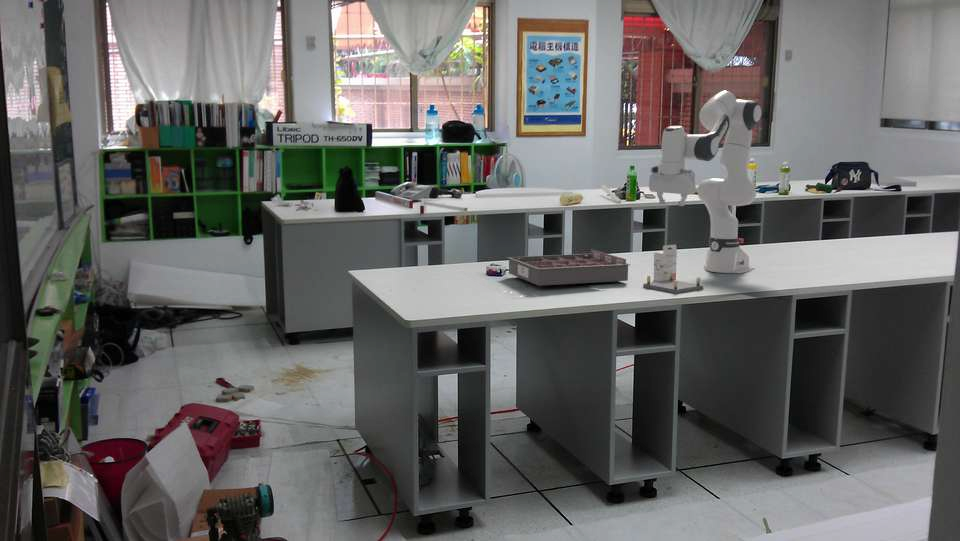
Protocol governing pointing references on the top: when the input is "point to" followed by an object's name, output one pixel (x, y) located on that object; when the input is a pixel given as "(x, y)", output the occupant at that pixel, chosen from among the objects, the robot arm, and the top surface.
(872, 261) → the top surface
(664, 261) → the ink cartridge box
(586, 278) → the organizer tray
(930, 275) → the top surface
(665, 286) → the chassis plate
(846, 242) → the top surface
